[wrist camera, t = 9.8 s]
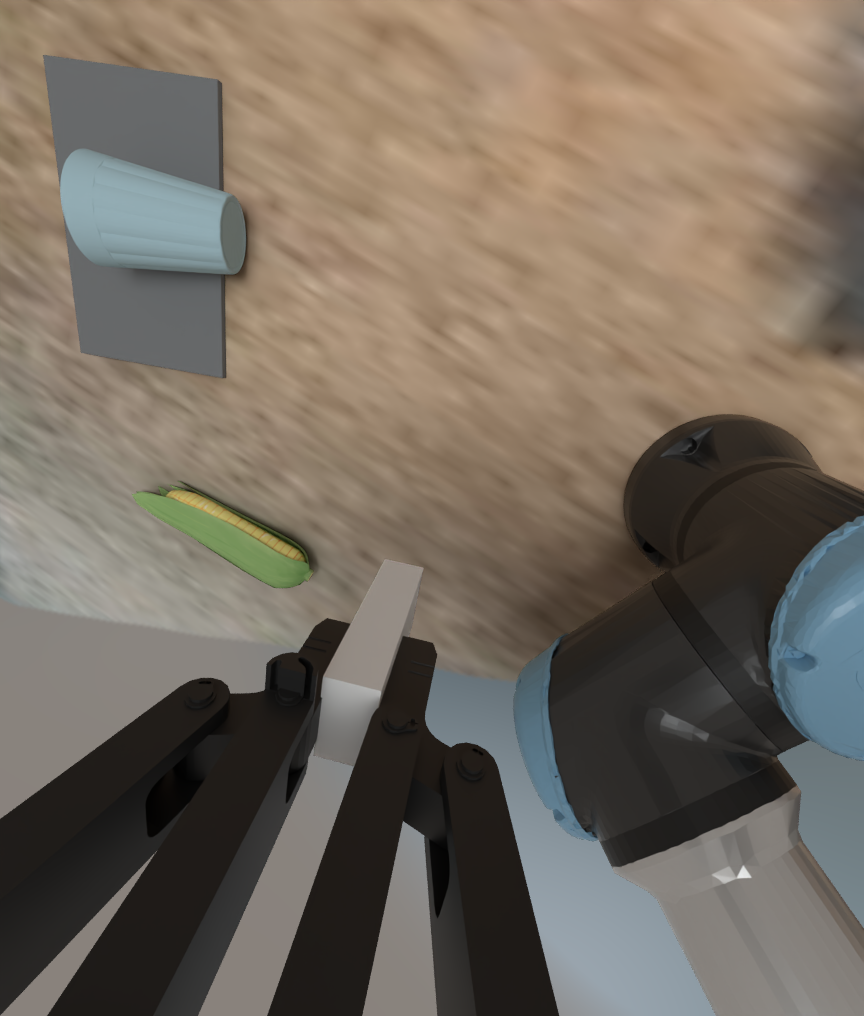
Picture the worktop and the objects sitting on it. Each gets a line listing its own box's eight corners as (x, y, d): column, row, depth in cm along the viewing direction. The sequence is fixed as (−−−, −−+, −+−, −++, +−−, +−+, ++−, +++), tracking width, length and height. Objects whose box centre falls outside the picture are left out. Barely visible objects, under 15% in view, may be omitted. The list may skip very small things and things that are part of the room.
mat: (221, 83, 36) (217, 79, 35) (225, 377, 44) (222, 377, 44) (50, 58, 37) (43, 54, 36) (86, 352, 45) (80, 352, 44)
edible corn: (291, 607, 48) (302, 582, 45) (115, 508, 47) (116, 476, 44) (315, 573, 52) (327, 549, 49) (154, 481, 51) (156, 450, 48)
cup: (249, 179, 38) (115, 155, 37) (209, 171, 31) (47, 140, 31) (253, 282, 42) (132, 261, 41) (218, 293, 35) (74, 269, 35)
